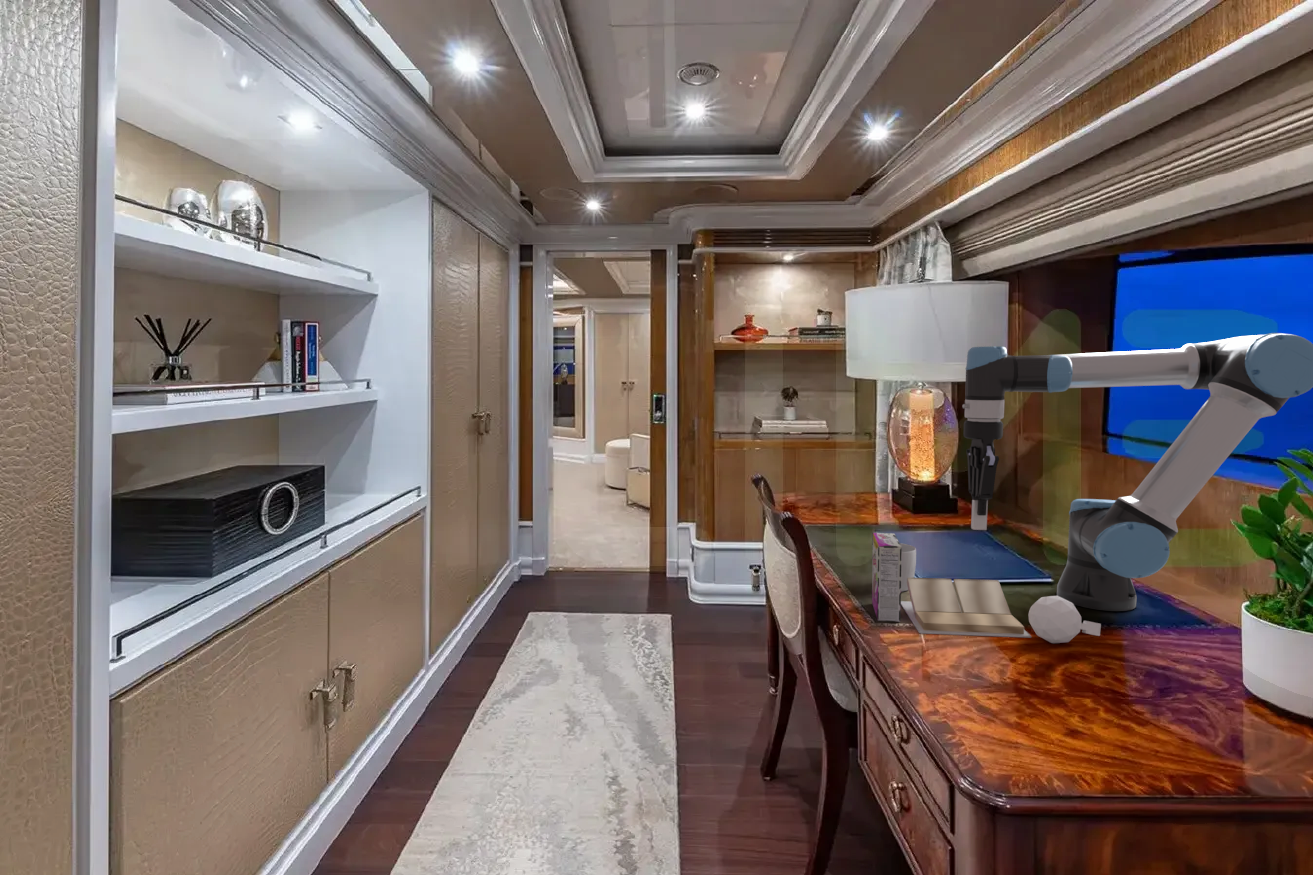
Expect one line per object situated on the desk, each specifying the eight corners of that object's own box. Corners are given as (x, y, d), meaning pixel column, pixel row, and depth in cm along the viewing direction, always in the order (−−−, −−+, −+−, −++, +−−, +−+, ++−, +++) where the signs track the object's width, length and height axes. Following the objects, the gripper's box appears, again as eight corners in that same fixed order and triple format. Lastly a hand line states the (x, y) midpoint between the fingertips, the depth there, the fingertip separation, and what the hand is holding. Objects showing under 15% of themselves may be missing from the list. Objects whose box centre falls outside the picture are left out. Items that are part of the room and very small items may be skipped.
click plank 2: (996, 584, 149) (998, 580, 148) (1009, 618, 142) (1010, 613, 141) (952, 583, 150) (954, 578, 150) (962, 616, 143) (964, 612, 142)
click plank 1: (949, 583, 150) (951, 578, 150) (959, 616, 143) (961, 612, 143) (906, 581, 152) (907, 577, 151) (914, 614, 145) (915, 610, 144)
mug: (909, 596, 158) (910, 554, 157) (870, 589, 163) (871, 548, 162) (923, 581, 169) (924, 542, 167) (886, 575, 174) (887, 537, 173)
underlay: (997, 605, 151) (997, 604, 151) (1031, 637, 134) (1031, 636, 134) (899, 602, 154) (899, 601, 154) (919, 633, 136) (919, 631, 136)
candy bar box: (870, 603, 154) (871, 532, 152) (893, 604, 153) (895, 532, 151) (875, 621, 143) (877, 544, 141) (901, 623, 142) (903, 546, 140)
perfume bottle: (1031, 639, 128) (1103, 654, 125) (1036, 590, 130) (1108, 604, 126) (1020, 636, 136) (1088, 650, 133) (1025, 590, 138) (1093, 603, 134)
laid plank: (1010, 621, 141) (1011, 614, 141) (1023, 633, 135) (1024, 626, 135) (915, 617, 144) (915, 611, 144) (923, 630, 137) (923, 622, 137)
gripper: (955, 417, 152) (951, 521, 154) (975, 422, 139) (970, 536, 141) (991, 417, 151) (986, 522, 153) (1014, 422, 138) (1008, 536, 140)
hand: (978, 528), depth 147 cm, fingers closed
